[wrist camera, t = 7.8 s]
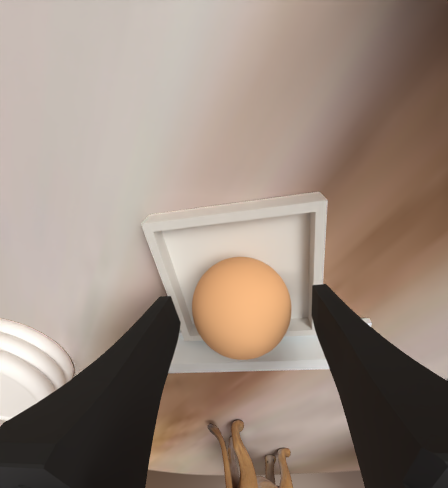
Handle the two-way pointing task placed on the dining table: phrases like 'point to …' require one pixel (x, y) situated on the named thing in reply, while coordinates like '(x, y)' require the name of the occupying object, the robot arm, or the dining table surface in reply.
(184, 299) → the tray
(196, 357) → the white picture ledge
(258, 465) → the dining table surface
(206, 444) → the dining table surface
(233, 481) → the lion figurine
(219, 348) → the ball
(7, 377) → the coaster
